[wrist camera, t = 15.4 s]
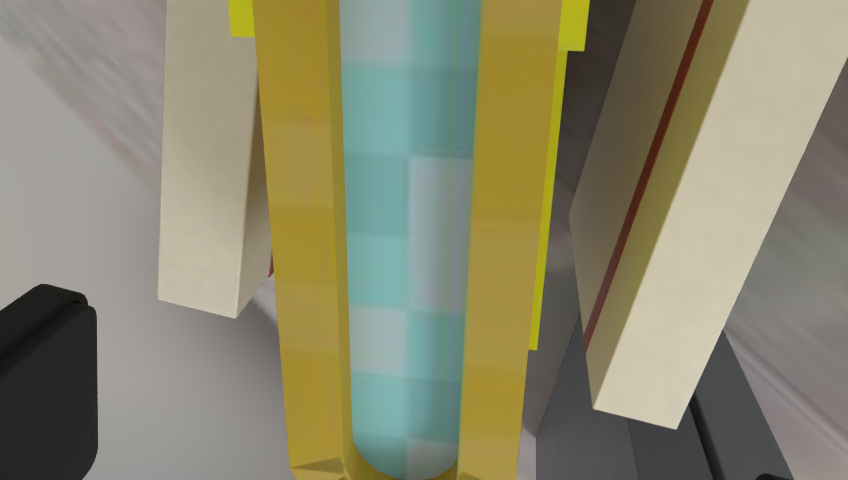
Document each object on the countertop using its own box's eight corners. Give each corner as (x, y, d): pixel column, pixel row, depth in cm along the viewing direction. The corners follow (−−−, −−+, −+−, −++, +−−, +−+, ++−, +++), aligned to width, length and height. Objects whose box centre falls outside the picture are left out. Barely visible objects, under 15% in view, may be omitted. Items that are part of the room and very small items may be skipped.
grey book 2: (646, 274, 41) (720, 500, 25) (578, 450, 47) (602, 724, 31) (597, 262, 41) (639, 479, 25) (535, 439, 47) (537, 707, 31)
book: (421, -115, 34) (209, -196, 12) (558, -113, 34) (611, -197, 11) (416, 202, 41) (277, 530, 19) (529, 210, 41) (526, 563, 18)
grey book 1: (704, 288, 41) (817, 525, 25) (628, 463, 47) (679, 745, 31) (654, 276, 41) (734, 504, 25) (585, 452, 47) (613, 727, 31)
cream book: (716, -46, 34) (886, -21, 18) (619, 228, 40) (677, 432, 24) (653, -60, 34) (765, -48, 18) (566, 216, 40) (590, 410, 24)
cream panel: (399, -115, 34) (281, -153, 18) (354, 165, 41) (237, 321, 25) (339, -128, 35) (169, -178, 18) (303, 153, 41) (154, 300, 25)
